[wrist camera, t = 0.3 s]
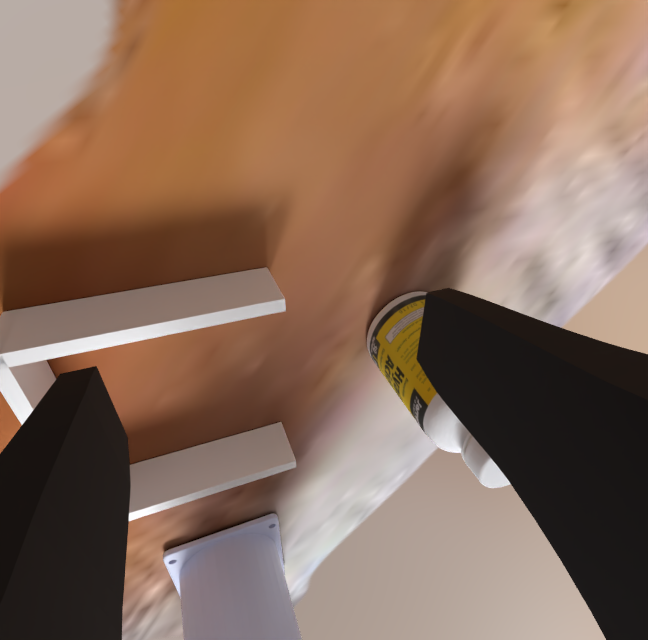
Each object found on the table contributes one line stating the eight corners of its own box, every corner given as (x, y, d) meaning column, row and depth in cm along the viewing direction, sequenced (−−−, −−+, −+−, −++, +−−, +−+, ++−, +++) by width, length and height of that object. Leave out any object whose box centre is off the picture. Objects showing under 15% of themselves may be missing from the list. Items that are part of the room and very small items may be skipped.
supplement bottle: (347, 328, 23) (451, 470, 15) (426, 270, 23) (570, 386, 15) (385, 377, 26) (484, 513, 19) (453, 328, 26) (581, 445, 19)
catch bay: (281, 428, 25) (296, 467, 23) (95, 482, 22) (90, 533, 20) (267, 267, 19) (284, 298, 17) (2, 312, 16) (-21, 358, 14)
